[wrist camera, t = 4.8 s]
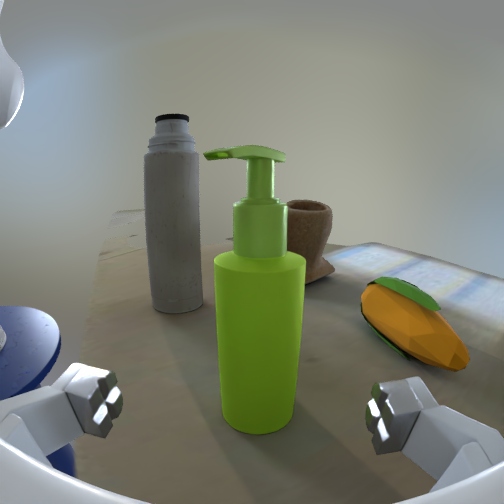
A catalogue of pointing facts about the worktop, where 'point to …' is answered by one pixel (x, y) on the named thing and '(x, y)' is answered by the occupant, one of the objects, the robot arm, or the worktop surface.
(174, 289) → the thermos bottle
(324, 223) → the stone cup
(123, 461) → the worktop surface
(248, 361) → the soap dispenser
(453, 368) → the corn
